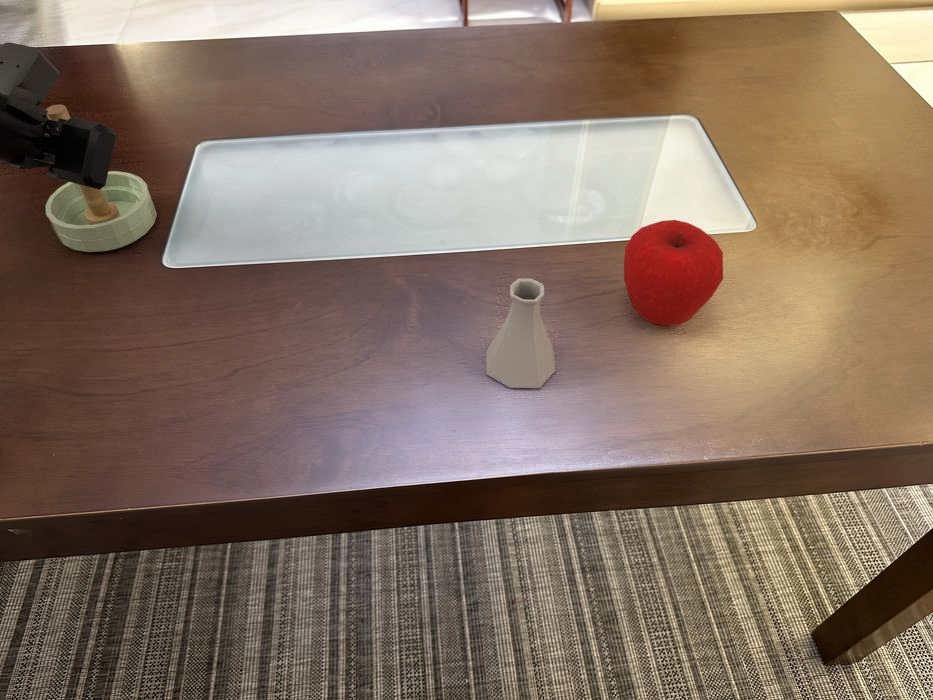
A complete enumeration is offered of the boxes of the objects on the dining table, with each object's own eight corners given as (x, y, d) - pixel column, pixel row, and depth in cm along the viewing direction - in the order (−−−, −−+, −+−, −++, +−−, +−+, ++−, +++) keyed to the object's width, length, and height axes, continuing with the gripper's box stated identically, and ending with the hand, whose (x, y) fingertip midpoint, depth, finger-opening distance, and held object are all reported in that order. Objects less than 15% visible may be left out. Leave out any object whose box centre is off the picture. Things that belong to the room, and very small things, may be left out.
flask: (564, 347, 74) (575, 273, 66) (546, 399, 69) (556, 325, 62) (496, 330, 75) (500, 256, 68) (474, 380, 71) (476, 306, 63)
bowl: (47, 258, 83) (32, 230, 80) (74, 201, 90) (61, 173, 87) (148, 253, 83) (136, 225, 80) (165, 196, 91) (156, 169, 88)
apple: (724, 325, 76) (755, 244, 68) (652, 357, 73) (675, 275, 65) (665, 271, 82) (687, 190, 74) (595, 297, 79) (611, 216, 71)
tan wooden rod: (108, 233, 84) (57, 120, 73) (82, 227, 85) (29, 114, 74) (128, 216, 86) (81, 104, 76) (103, 210, 87) (53, 98, 77)
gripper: (63, 46, 63) (175, 104, 78) (-99, 14, 67) (38, 75, 83) (36, 171, 64) (152, 205, 79) (-122, 131, 68) (17, 170, 83)
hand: (89, 160), depth 81 cm, fingers closed on tan wooden rod, 2 cm apart
